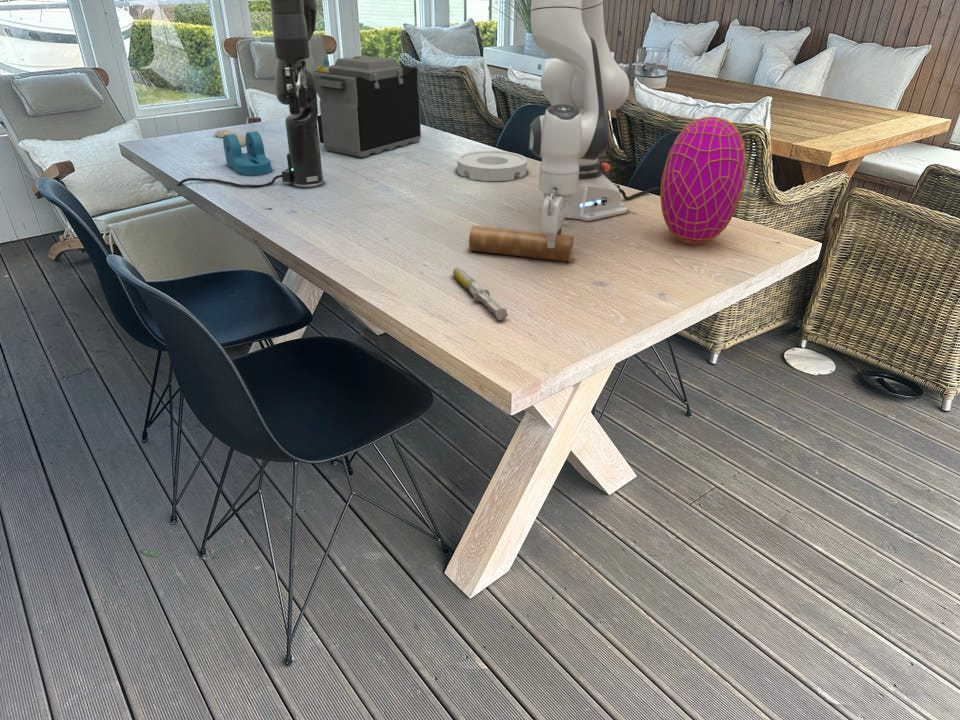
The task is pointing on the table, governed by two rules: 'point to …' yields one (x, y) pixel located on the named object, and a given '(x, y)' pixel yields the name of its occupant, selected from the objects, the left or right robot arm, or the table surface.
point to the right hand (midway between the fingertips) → (554, 240)
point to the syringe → (479, 293)
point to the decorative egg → (703, 179)
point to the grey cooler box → (368, 105)
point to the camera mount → (246, 154)
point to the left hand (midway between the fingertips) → (299, 110)
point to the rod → (519, 243)
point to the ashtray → (492, 165)
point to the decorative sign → (226, 132)
